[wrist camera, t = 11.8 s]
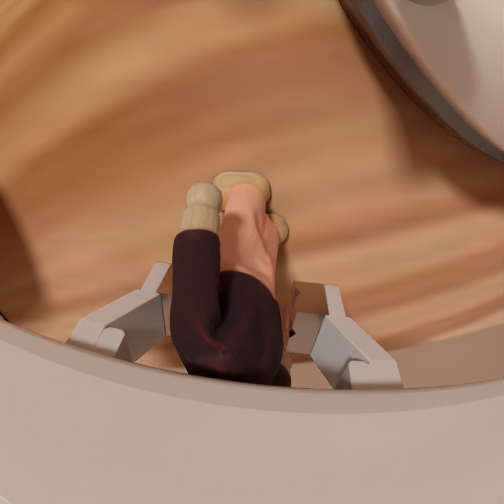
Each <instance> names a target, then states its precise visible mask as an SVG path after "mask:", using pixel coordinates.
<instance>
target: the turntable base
mask: <svg viewBox="0 0 504 504" xmlns="http://www.w3.org/2000/svg"><path fill="white" fill-rule="evenodd" d="M339 1H340V3H341V5H342V6H343V8H344V10H345V11H346V13H347V15H348V17H349V18H350V20H351V22H352V24H353V25H354V27H355V28H356V30H357V31H358V33H359V34H360V35H361V37H362V38H363V40H364V41H365V43H366V44H367V46H368V48H369V49H370V50H371V52H372V53H373V54H374V55H375V57H376V58H377V59H378V61H379V62H380V63H381V64H382V66H383V67H384V68H385V70H386V71H387V72H388V74H389V75H390V76H391V77H392V78H393V79H394V80H395V81H396V83H397V84H398V85H399V86H400V87H401V88H402V89H403V91H404V92H405V93H406V94H407V95H408V96H409V97H410V98H411V99H412V100H413V101H414V102H415V103H416V104H417V105H418V106H419V107H420V108H421V109H422V110H423V111H424V112H425V113H426V114H427V115H428V116H429V117H431V118H432V119H433V120H434V121H436V122H437V123H438V124H439V125H440V126H442V127H443V128H444V129H445V130H446V131H448V132H449V133H451V134H452V135H454V136H455V137H457V138H458V139H460V140H461V141H462V142H464V143H466V144H468V145H470V146H472V147H473V148H475V149H477V150H479V151H481V152H483V153H485V154H487V155H489V156H491V157H493V158H494V159H496V160H498V161H500V162H502V163H504V152H503V151H501V150H500V149H498V148H496V147H495V146H493V145H492V144H491V143H490V142H488V141H487V140H486V139H484V138H483V137H482V136H480V135H479V134H478V133H477V132H476V131H475V130H474V129H473V128H472V127H470V126H469V125H468V124H467V123H466V122H465V121H464V120H463V119H462V118H461V117H460V116H459V115H458V114H457V113H456V112H455V111H454V110H453V109H452V107H451V106H450V105H449V104H448V103H447V102H446V101H445V100H444V99H443V98H442V97H441V96H440V94H439V93H438V92H437V91H436V89H435V88H434V87H433V86H432V84H431V83H430V82H429V81H428V79H427V78H426V77H425V76H424V75H423V74H422V72H421V71H420V70H419V68H418V67H417V65H416V64H415V63H414V61H413V60H412V59H411V57H410V56H409V55H408V53H407V52H406V51H405V49H404V48H403V47H402V45H401V44H400V42H399V41H398V39H397V38H396V36H395V35H394V33H393V32H392V30H391V29H390V27H389V26H388V24H387V23H386V21H385V20H384V19H383V17H382V16H381V14H380V12H379V10H378V9H377V7H376V5H375V4H374V2H373V0H339Z"/></svg>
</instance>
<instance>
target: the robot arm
mask: <svg viewBox="0 0 504 504" xmlns="http://www.w3.org/2000/svg"><path fill="white" fill-rule="evenodd" d="M172 275H173V269H172V264H171V263H164V262H157V263H156V264H155V265H154V267H153V269H152V270H151V272H150V274H149V276H148V277H147V279H146V281H145V283H144V284H143V286H142V288H141V290H137V289H136V290H134V291H132V292H131V293H129V294H127V295H125V296H123V297H121V298H119V299H117V300H115V301H113V302H111V303H110V304H108V305H106V306H104V307H102V308H100V309H98V310H96V311H94V312H92V313H91V314H89V315H87V316H85V317H83V318H81V320H80V321H79V323H78V324H77V326H76V327H75V329H74V331H73V332H72V334H71V335H70V337H69V339H68V340H67V342H66V343H63V342H60V341H57V340H55V339H52V338H49V337H46V336H43V335H40V334H38V333H35V332H32V331H30V330H27V329H25V328H22V327H20V326H17V325H15V324H12V323H10V322H7V321H5V320H4V319H3V318H2V316H1V315H0V504H504V377H503V378H497V379H491V380H486V381H479V382H472V383H465V384H456V385H447V386H437V387H425V388H411V389H410V388H409V389H404V388H403V384H402V380H401V377H400V373H399V370H398V366H397V363H396V361H395V359H393V358H392V357H391V356H390V355H389V354H388V353H387V352H386V351H385V350H384V349H383V348H382V347H381V346H380V345H379V344H378V343H377V342H376V341H374V340H373V339H372V338H371V337H370V336H369V335H368V334H367V333H366V332H365V331H364V330H363V329H362V328H361V327H360V326H358V325H357V324H356V323H355V322H354V321H353V320H352V319H351V318H349V317H346V315H345V311H344V307H343V303H342V298H341V294H340V290H339V286H338V285H335V284H319V283H309V282H301V281H293V284H292V288H291V299H290V300H288V305H287V310H286V318H285V327H286V328H287V332H286V336H285V344H286V352H294V353H302V354H311V355H310V356H311V357H312V359H313V360H314V362H315V363H316V364H317V366H318V367H319V369H320V370H321V371H322V373H323V375H324V376H325V377H326V379H327V380H328V382H329V383H330V385H331V386H332V387H333V389H334V390H332V389H331V390H330V389H310V388H293V387H281V386H270V385H260V384H251V383H243V382H235V381H228V380H221V379H214V378H208V377H202V376H196V375H190V374H184V373H179V372H174V371H169V370H164V369H159V368H155V367H150V366H146V365H142V364H137V363H134V362H135V361H136V360H138V359H139V358H140V357H141V356H142V355H144V354H145V353H146V352H147V351H148V350H150V349H151V348H152V347H153V346H155V345H156V344H157V343H158V342H159V341H161V340H162V339H163V338H164V337H165V335H168V336H171V334H170V307H171V300H172Z"/></svg>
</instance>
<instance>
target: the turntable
mask: <svg viewBox="0 0 504 504" xmlns="http://www.w3.org/2000/svg"><path fill="white" fill-rule="evenodd" d="M373 2H374V4H375V5H376V7H377V9H378V10H379V12H380V14H381V16H382V17H383V19H384V20H385V21H386V23H387V24H388V26H389V27H390V29H391V30H392V32H393V33H394V35H395V36H396V38H397V39H398V41H399V42H400V44H401V45H402V47H403V48H404V49H405V51H406V52H407V53H408V55H409V56H410V57H411V59H412V60H413V61H414V63H415V64H416V65H417V67H418V68H419V70H420V71H421V72H422V74H423V75H424V76H425V77H426V78H427V79H428V81H429V82H430V83H431V84H432V86H433V87H434V88H435V89H436V91H437V92H438V93H439V94H440V96H441V97H442V98H443V99H444V100H445V101H446V102H447V103H448V104H449V105H450V106H451V107H452V109H453V110H454V111H455V112H456V113H457V114H458V115H459V116H460V117H461V118H462V119H463V120H464V121H465V122H466V123H467V124H468V125H469V126H470V127H472V128H473V129H474V130H475V131H476V132H477V133H478V134H479V135H480V136H482V137H483V138H484V139H486V140H487V141H488V142H490V143H491V144H492V145H493V146H495V147H496V148H498V149H500V150H501V151H503V152H504V0H373Z"/></svg>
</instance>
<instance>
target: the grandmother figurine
mask: <svg viewBox="0 0 504 504" xmlns="http://www.w3.org/2000/svg"><path fill="white" fill-rule="evenodd" d="M270 194H271V191H270V184H269V181H268V180H267V178H266V177H265V176H263V175H262V174H259V173H251V172H223V173H220V174H219V175H217V176H216V177H215V178H214V179H213V181H212V183H210V182H199V183H197V184H194V185H193V186H192V187H191V188H190V189H189V191H188V192H187V194H186V199H185V204H186V210H185V211H184V213H183V214H182V218H181V222H180V227H179V232H178V234H177V236H176V237H175V240H174V245H173V256H172V269H173V275H172V300H171V307H170V334H171V338H172V341H173V343H174V345H175V348H176V350H177V352H178V354H179V356H180V358H181V360H182V362H183V364H184V366H185V368H186V370H187V372H188V374H190V375H196V376H202V377H208V378H214V379H221V380H228V381H235V382H243V383H251V384H260V385H270V386H281V387H291V376H290V369H291V366H292V358H291V356H290V355H289V353H288V352H286V351H284V350H283V346H284V343H283V334H282V327H281V317H280V311H279V306H278V302H277V300H276V292H275V270H276V260H277V253H278V245H279V243H281V242H283V241H284V240H285V239H286V238H287V236H288V226H287V224H286V222H285V220H284V219H283V218H282V217H281V216H279V215H277V214H266V213H265V209H266V202H267V201H268V200H269V198H270ZM221 210H222V211H224V212H225V213H224V216H223V219H222V221H221V222H220V216H219V212H220V211H221Z"/></svg>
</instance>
